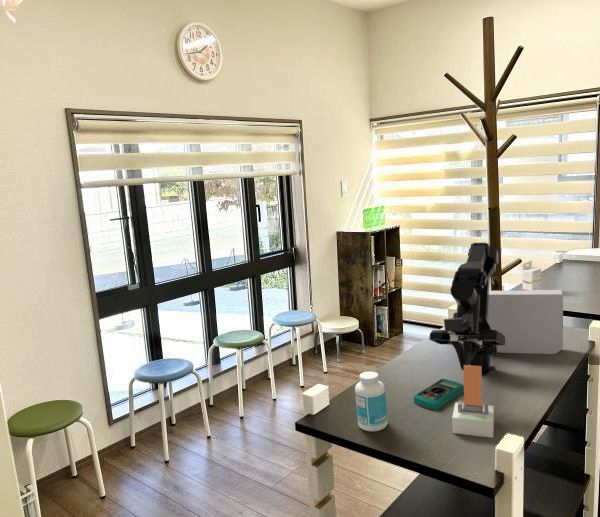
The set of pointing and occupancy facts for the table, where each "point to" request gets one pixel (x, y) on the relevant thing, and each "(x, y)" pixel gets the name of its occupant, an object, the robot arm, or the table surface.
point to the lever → (472, 388)
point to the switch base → (473, 421)
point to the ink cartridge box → (531, 277)
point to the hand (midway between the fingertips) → (463, 370)
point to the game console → (527, 320)
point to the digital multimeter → (438, 394)
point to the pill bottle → (371, 402)
